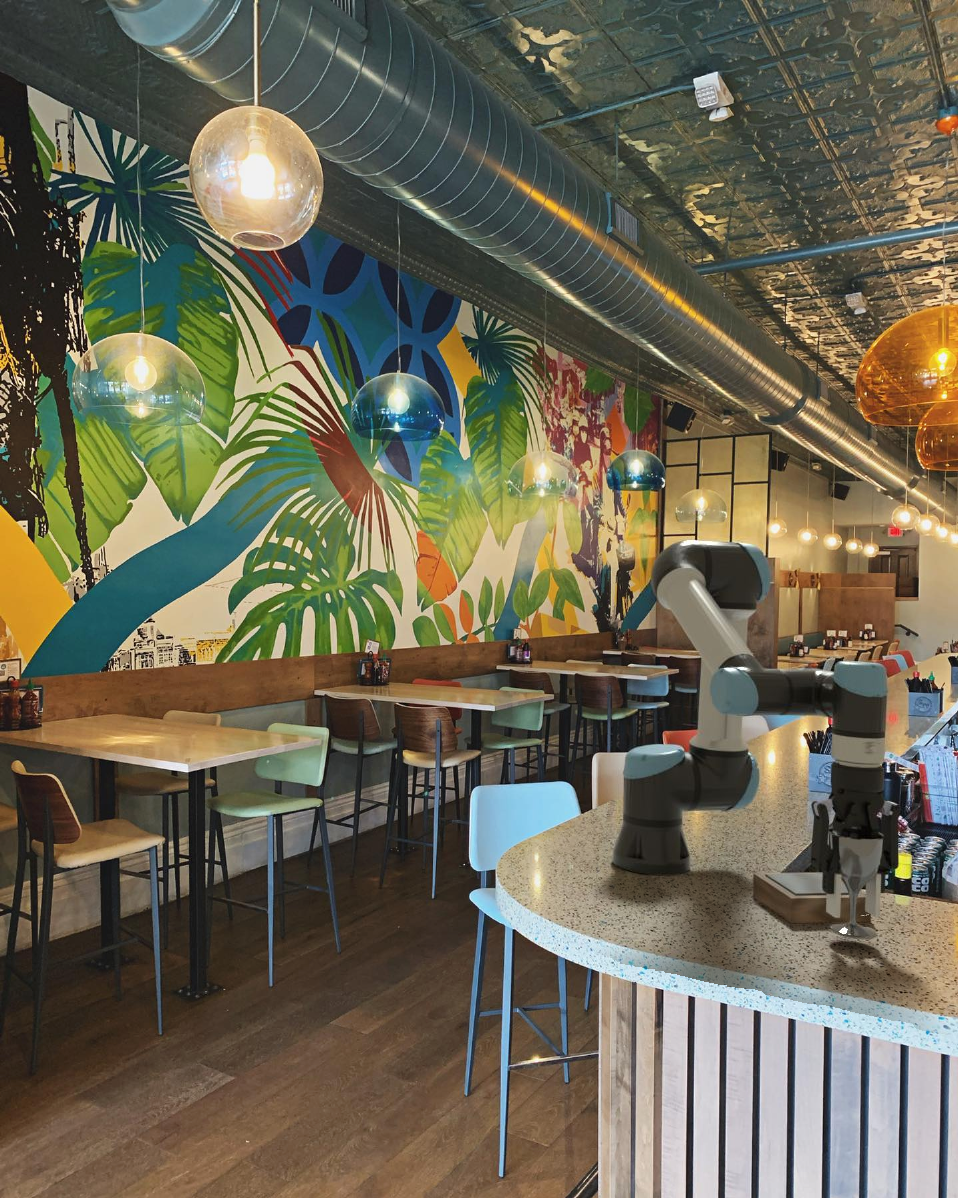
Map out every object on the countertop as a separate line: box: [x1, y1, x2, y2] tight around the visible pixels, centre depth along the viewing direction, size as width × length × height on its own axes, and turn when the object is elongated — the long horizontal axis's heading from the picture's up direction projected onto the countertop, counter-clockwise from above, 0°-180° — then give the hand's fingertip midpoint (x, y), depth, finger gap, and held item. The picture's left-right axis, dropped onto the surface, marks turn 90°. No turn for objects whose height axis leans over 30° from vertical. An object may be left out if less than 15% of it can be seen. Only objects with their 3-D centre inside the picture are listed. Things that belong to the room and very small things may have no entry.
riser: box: [752, 871, 872, 924], centre depth 153 cm, size 14×14×4 cm
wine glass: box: [826, 826, 884, 940], centre depth 136 cm, size 8×8×15 cm
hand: (852, 914), depth 136 cm, fingers closed on wine glass, 6 cm apart
